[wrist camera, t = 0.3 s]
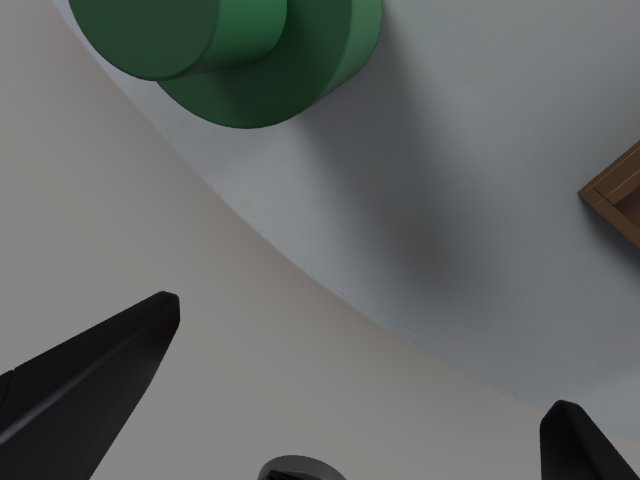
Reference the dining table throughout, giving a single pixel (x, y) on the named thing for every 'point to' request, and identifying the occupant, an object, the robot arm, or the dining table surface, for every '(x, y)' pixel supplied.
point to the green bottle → (235, 51)
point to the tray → (618, 194)
